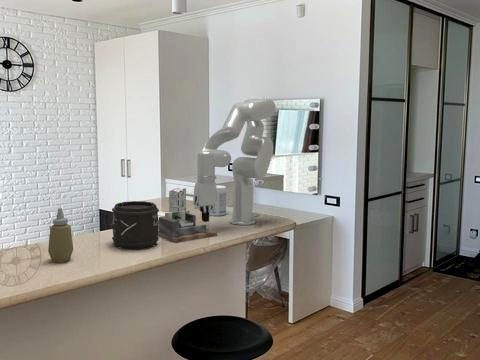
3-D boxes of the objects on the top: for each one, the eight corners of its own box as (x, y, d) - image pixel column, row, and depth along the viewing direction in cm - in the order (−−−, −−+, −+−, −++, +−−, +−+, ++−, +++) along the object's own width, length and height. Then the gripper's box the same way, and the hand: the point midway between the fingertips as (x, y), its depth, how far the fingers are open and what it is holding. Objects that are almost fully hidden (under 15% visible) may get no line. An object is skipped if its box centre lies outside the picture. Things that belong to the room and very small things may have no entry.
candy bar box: (176, 221, 226) (176, 187, 224) (186, 222, 225) (186, 188, 223) (168, 226, 216) (168, 190, 213) (178, 227, 215) (179, 191, 212)
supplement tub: (224, 212, 251) (224, 185, 249) (227, 216, 242) (228, 187, 240) (206, 212, 249) (206, 185, 247) (208, 216, 239) (209, 187, 238)
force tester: (195, 228, 213) (195, 208, 212) (217, 235, 201) (217, 214, 199) (154, 234, 199) (154, 213, 198) (174, 242, 187) (175, 220, 186)
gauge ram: (183, 227, 206) (183, 211, 205) (195, 231, 199) (195, 215, 198) (169, 229, 201) (169, 213, 201) (180, 233, 195) (181, 217, 194)
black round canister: (107, 240, 188) (107, 201, 186) (152, 237, 195) (152, 199, 193) (113, 252, 172) (113, 209, 170) (162, 248, 179) (162, 207, 177)
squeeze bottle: (52, 256, 164) (51, 206, 162) (76, 256, 165) (75, 206, 163) (45, 263, 156) (43, 210, 154) (70, 264, 157) (69, 210, 155)
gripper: (214, 177, 211) (214, 217, 213) (186, 179, 201) (186, 221, 204) (224, 179, 205) (224, 220, 208) (196, 181, 196) (196, 225, 198)
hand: (205, 221), depth 206 cm, fingers closed
